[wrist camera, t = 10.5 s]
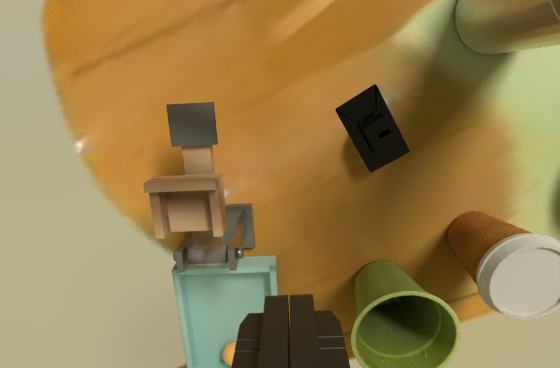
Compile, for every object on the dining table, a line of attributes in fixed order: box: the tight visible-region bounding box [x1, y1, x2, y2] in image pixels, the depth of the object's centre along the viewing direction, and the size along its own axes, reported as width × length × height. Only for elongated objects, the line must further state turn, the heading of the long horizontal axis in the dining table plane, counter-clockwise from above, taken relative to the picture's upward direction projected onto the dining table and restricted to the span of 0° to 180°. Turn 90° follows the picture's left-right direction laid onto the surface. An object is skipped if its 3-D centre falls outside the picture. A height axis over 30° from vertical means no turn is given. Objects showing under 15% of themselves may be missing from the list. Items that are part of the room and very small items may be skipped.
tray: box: [172, 255, 279, 368], centre depth 46 cm, size 18×14×7 cm
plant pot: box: [351, 261, 461, 368], centre depth 42 cm, size 12×12×11 cm
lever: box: [144, 102, 228, 265], centre depth 32 cm, size 17×6×8 cm, turn 3°
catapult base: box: [173, 203, 255, 273], centre depth 41 cm, size 6×8×11 cm
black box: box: [336, 85, 409, 172], centre depth 40 cm, size 12×7×5 cm, turn 31°
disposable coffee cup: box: [447, 211, 560, 319], centre depth 40 cm, size 10×10×12 cm
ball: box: [223, 342, 236, 366], centre depth 49 cm, size 3×3×3 cm
